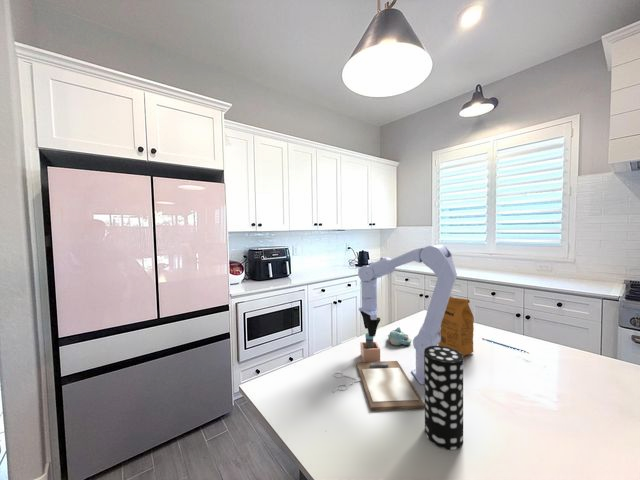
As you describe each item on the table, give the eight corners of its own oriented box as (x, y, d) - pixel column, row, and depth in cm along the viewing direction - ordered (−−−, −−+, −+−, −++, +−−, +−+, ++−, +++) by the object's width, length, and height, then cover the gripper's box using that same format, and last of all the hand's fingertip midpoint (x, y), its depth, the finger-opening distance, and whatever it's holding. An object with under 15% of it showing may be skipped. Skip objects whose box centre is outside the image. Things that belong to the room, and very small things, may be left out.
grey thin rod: (482, 339, 115) (482, 337, 115) (530, 354, 101) (530, 352, 101) (482, 339, 114) (482, 338, 114) (530, 354, 100) (530, 353, 100)
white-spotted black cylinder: (418, 423, 66) (418, 346, 66) (450, 421, 67) (449, 344, 66) (435, 451, 58) (435, 363, 57) (471, 448, 59) (471, 361, 58)
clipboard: (397, 363, 96) (397, 358, 96) (425, 408, 72) (425, 401, 72) (356, 365, 96) (356, 359, 95) (371, 410, 72) (371, 403, 71)
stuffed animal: (417, 328, 115) (405, 331, 106) (416, 345, 114) (404, 349, 105) (395, 322, 122) (382, 325, 113) (394, 338, 121) (380, 342, 113)
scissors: (328, 372, 91) (385, 368, 92) (328, 374, 91) (385, 370, 92) (332, 391, 80) (396, 386, 81) (332, 394, 80) (396, 389, 82)
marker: (372, 355, 102) (372, 332, 101) (374, 359, 99) (374, 335, 98) (365, 355, 101) (364, 332, 101) (366, 359, 98) (366, 335, 98)
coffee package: (451, 341, 113) (451, 291, 112) (477, 354, 101) (477, 298, 100) (433, 345, 109) (432, 293, 108) (458, 359, 98) (457, 301, 97)
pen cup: (376, 354, 103) (376, 341, 103) (380, 362, 97) (380, 348, 97) (360, 354, 103) (360, 342, 103) (363, 362, 97) (363, 349, 97)
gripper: (355, 292, 106) (356, 325, 107) (362, 302, 92) (362, 340, 92) (372, 291, 106) (373, 324, 107) (382, 301, 92) (382, 339, 93)
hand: (369, 332), depth 100 cm, fingers open, 7 cm apart
